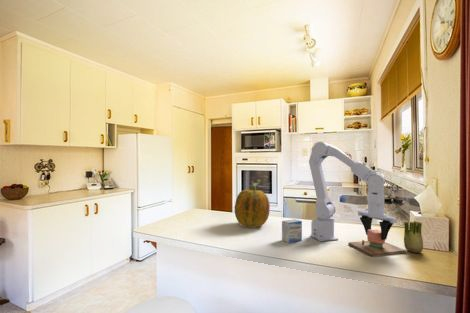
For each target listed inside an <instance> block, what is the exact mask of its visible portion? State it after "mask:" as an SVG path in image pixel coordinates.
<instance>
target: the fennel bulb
mask: <svg viewBox="0 0 470 313" xmlns="http://www.w3.org/2000/svg"><path fill="white" fill-rule="evenodd" d="M403 224H404V232H403V233H404V235H403V244H404V245H403V246H404V248H405V250H406V251H409V252H410V253H415V254H421V253H422V251H423V250H424V239H423V235H422V226H423V222H420V221H417V220H413V221H404V222H403Z"/></svg>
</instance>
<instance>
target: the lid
mask: <svg viewBox="0 0 470 313" xmlns="http://www.w3.org/2000/svg"><path fill="white" fill-rule="evenodd" d="M366 236H367V238H366V239H367V240H366V241H369V242H372V243H376V244H384V243H385V242H386V240H382V239H381V230H379V229H372V228H371V229H368V230H367V235H366Z"/></svg>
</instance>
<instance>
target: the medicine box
mask: <svg viewBox="0 0 470 313" xmlns="http://www.w3.org/2000/svg"><path fill="white" fill-rule="evenodd" d="M281 240H282V241H283V242H286V243H287V244H290V243H294V242H295V243H296V242H300V241H302V240H303V221H302V220H300V219H296V218H295V219H289V220H282V221H281Z"/></svg>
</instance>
